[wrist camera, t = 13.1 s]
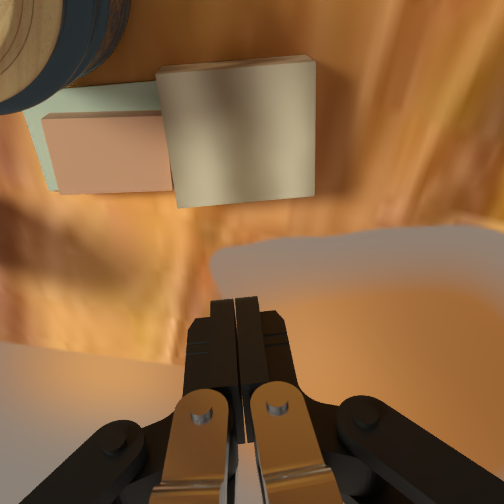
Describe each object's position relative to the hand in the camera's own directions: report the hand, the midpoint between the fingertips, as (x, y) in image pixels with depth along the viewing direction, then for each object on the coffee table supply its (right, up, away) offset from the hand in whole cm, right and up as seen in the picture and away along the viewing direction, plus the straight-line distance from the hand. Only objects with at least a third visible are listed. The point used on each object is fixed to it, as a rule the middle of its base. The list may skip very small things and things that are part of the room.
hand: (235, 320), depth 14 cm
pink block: (-11, +11, +21) cm, 26 cm away
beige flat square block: (-1, +12, +22) cm, 25 cm away
